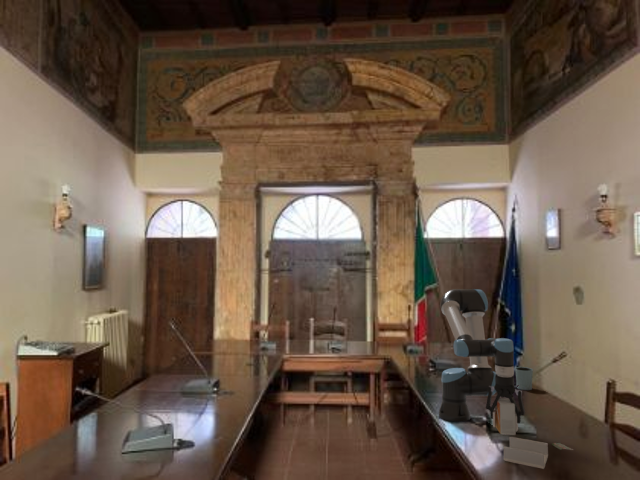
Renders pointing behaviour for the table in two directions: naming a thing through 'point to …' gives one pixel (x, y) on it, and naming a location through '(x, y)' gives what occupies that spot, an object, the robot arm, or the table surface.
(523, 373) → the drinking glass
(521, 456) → the end holder
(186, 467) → the table surface
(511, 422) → the small box
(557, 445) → the map
